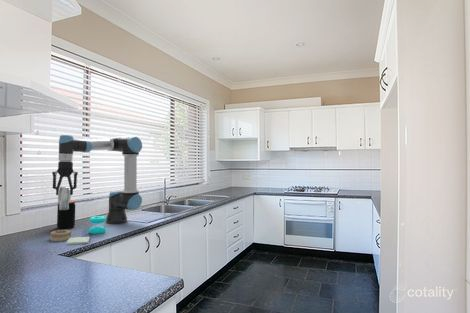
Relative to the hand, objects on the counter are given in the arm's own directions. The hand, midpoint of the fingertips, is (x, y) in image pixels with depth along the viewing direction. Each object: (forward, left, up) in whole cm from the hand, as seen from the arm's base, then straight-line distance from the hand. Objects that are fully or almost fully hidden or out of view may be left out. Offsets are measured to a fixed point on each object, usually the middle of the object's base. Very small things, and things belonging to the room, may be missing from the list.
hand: (64, 200), depth 180 cm
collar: (+1, -1, -23) cm, 23 cm away
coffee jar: (+3, -31, -23) cm, 39 cm away
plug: (0, 0, -5) cm, 5 cm away
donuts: (-18, -12, -23) cm, 31 cm away
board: (-9, +7, -23) cm, 26 cm away
